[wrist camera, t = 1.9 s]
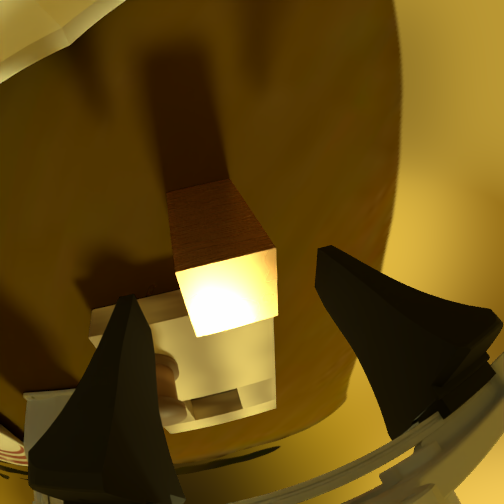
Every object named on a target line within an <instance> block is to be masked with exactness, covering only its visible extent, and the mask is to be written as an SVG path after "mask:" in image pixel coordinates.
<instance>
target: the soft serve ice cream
mask: <svg viewBox="0 0 504 504" xmlns="http://www.w3.org/2000/svg"><path fill="white" fill-rule="evenodd" d="M124 1H125V0H0V83H2V82H3V81H5V80H6V79H8V78H9V77H11V76H13V75H14V74H16V73H17V72H19V71H21V70H23V69H24V68H26V67H28V66H29V65H31V64H33V63H35V62H37V61H39V60H41V59H42V58H44V57H46V56H48V55H50V54H52V53H54V52H56V51H59V50H61V49H63V48H65V47H67V46H69V45H71V44H72V43H73V42H74V41H75V40H76V39H77V38H78V37H80V36H81V35H82V34H83V33H84V32H85V31H86V30H88V29H89V28H90V27H91V26H92V25H94V24H95V23H96V22H97V21H99V20H100V19H101V18H102V17H104V16H105V15H106V14H108V13H109V12H110V11H112V10H113V9H114V8H116V7H117V6H118V5H120V4H121V3H123V2H124Z"/></svg>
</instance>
